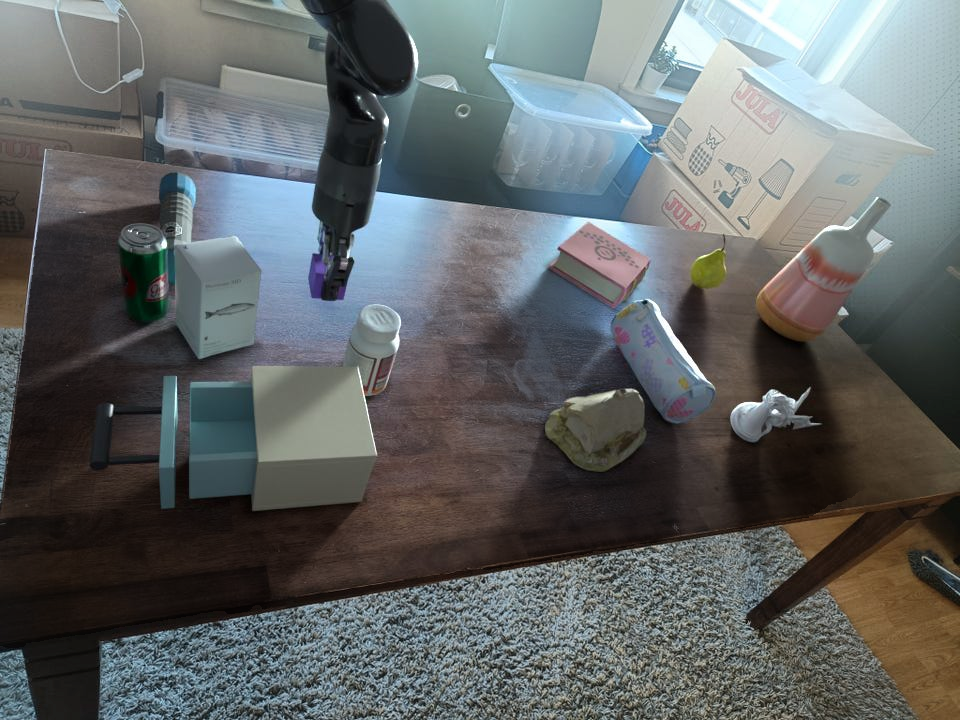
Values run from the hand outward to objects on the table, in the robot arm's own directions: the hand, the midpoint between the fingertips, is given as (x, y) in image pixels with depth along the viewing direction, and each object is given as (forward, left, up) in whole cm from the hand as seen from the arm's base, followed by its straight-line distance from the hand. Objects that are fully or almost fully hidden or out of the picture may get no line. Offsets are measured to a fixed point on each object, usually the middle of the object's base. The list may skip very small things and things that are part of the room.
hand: (326, 287), depth 90 cm
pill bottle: (+3, -16, -3) cm, 16 cm away
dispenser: (-6, -28, -2) cm, 29 cm away
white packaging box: (-15, -8, -3) cm, 17 cm away
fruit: (+78, +10, -3) cm, 79 cm away
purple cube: (0, 0, 0) cm, 0 cm away
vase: (+93, -1, -3) cm, 93 cm away
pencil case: (+50, -16, -3) cm, 53 cm away
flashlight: (-20, +11, -3) cm, 23 cm away
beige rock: (+34, -27, -3) cm, 44 cm away
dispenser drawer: (-18, -28, -2) cm, 33 cm away
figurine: (+64, -29, -3) cm, 71 cm away
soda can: (-23, -4, -3) cm, 23 cm away
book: (+53, +11, -3) cm, 54 cm away
